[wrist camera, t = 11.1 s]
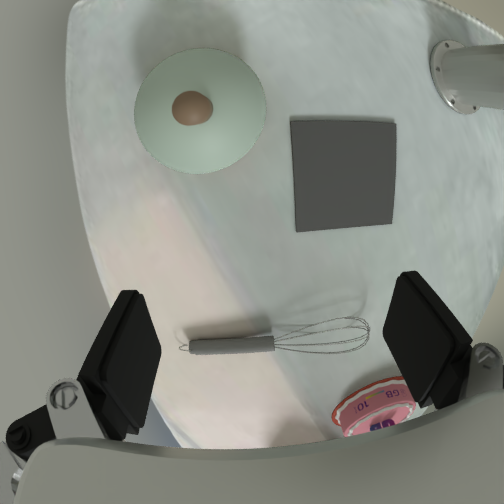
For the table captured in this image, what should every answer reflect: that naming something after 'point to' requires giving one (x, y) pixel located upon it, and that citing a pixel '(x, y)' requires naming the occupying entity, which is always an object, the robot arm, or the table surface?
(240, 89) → the lid
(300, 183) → the mat
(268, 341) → the kitchen whisk
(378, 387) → the cake
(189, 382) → the table surface
